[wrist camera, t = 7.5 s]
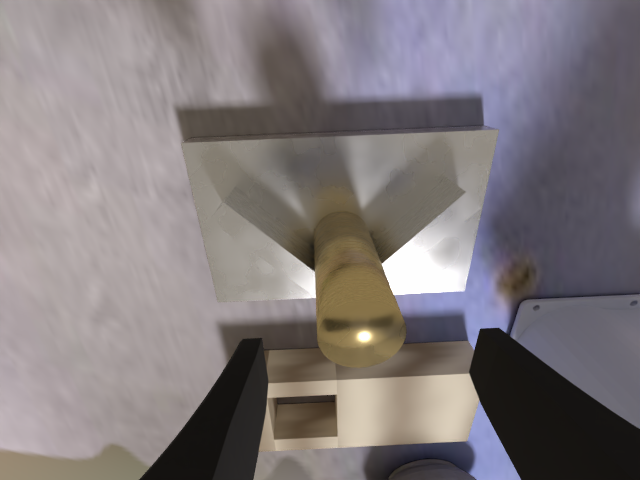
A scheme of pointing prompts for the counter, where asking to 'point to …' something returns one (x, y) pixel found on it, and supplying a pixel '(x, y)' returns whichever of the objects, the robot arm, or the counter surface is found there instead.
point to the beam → (370, 398)
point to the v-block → (339, 204)
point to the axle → (353, 295)
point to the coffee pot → (430, 471)
